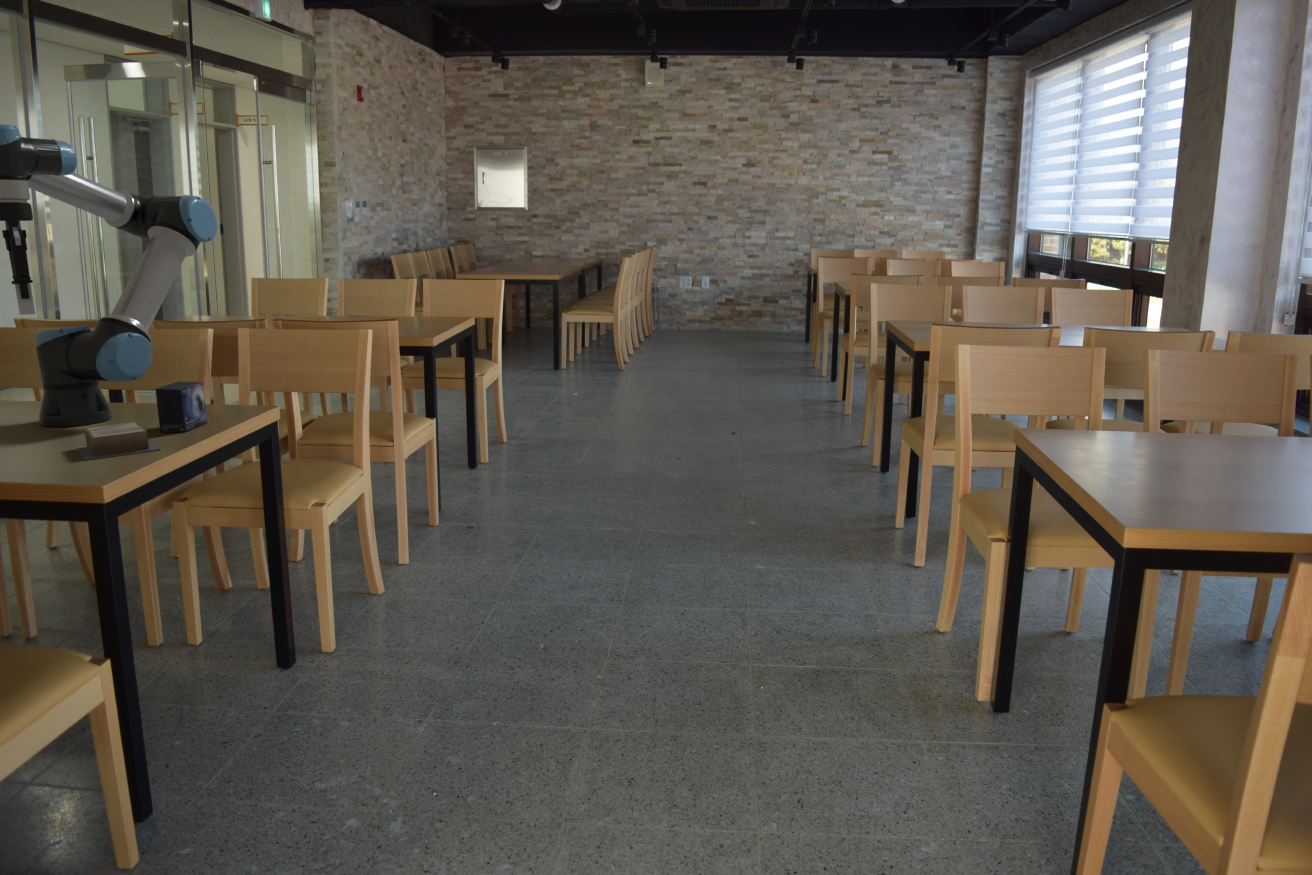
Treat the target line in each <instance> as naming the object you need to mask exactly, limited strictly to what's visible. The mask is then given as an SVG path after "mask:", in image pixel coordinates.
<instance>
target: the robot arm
mask: <svg viewBox="0 0 1312 875" xmlns="http://www.w3.org/2000/svg"><path fill="white" fill-rule="evenodd" d="M77 165H78V156H77V153H76V151H75V149H74V148H73V146H72V145H71V144H69V143H68V142H66V141H62V140H57V139H54V138H53V139H49V138H47V139H46V138H38V137H37V138H35V137H24V136H22V135H21V132H20V129H19V127H17V126H16V125H12V124H5V123H3V124H2V123H0V222H4V223H5V224H4V225H5V229H2V230H1V233H2V238H3V239H4V241H5V248H6V251H7V252H8V256H9V261H10V267H11V272H12V279H13V280H12V281H11V284H12V285H14V288H15V294H16V300H17V307H18V312H19V315H20V316H22V315H26V316H27V315H36V309H35V303H34V298H33V292H32V284H34V281H33V279H32V278H31V276H30V269H29V263H28V262H29V261H28V253H27V251H28V245H27V240H26V239H27V238H28V236H27V231H26V229H22V226H21V222H23V221H24V222H27V221H28V222H30V221H33V220H34V215H33V209H32V204H31V203H29V202H28V201H30V200H31V194H30V190H33V191H36V192H38V193H41V194H42V195H45V196H48V197H51V198H53V199H55V200H57V201H60V202H61V203H65V204H67V205H70V206H72V207H75V208H77V209H80V210H82V211H85V212H87V213H89V214H92V215H94V216H97V217H99V218H101V219H104V222H106V224H108V225H109V226H111V227H114V228H116V229H118V230H121V231H123V232H125V233H128V234H130V235H133V236H135V237H139V238H142V239H145V240H147V241H149V242H148V244H147V246H146V248H145V250H144V252H143V254H142V255H141V258H140V259H139V261H138V263H137V265H136V267H135V268H134V270H133V273H132V274H131V276H130V278H129V280H128V282H127V284H126V286H125V287H124V289H123V291H122V293H121V295H120V296H119V299H118V301H117V302H116V304H115V306H114V308H113V310H112V312H111V313H110V315H105V316H103V317H101V318H99V320H98V322H97V324H96V325H95V328H94V330H92V329H91V326H89V324H85V325H76V326H68V327H61V328H51V329H44V330H40V331H38V332H37V333H36V335H35V350H36V354H37V360H38V367H39V370H40V371H39V372H40V377H41V383H42V389H43V395H42V396H43V397H42V401H41V404H40V409H39V415H38V419H39V424H40V425H41V426H43V427H49V428H50V427H54V428H58V427H59V428H60V427H64V428H65V427H75V426H83V425H85V426H86V425H91V424H96V423H101V422H105V421H108V420H110V419H112V418H113V413H112V408H111V407H110V405H109V403H108V400H107V399H106V397H105V395H104V393H103V391H102V390H101V386H100V381H101V382H111V383H122V382H133V381H136V380H138V379H139V378H141V377H143V376H144V375H145V374H146V373H148V370H149V369H150V367H151V365H152V363H153V357H154V356H153V354H152V352H153V347H152V345H151V340H152V339H151V338H152V337H151V335H150V334H149V329H150V327H151V326H152V324H153V322H154V320H155V318H156V316H157V313H158V312H159V310H160V308H161V306H162V304H163V301H164V300H165V298H166V296H167V294H168V292H169V290H170V289H171V286H172V284H173V283H174V280H175V278H176V277H177V275H178V272H179V270H180V269H181V267H182V264H183V263H184V260H186V258H188V257H192V256H194V255H195V254H196V252H197V249H198V248H199V246H200V244H201V243H208V242H210V241H212V240H213V239H214V238H215V237H216V235H217V231H218V221H217V218H216V214H215V211H214V209H213V207H212V206H211V205H210V203H209V202H208V201H207V200H206V199H204V198H202V197H200V196H197V195H189V194H184V195H181V196H179V195H172V196H171V195H164V196H163V195H161V196H159V195H153V196H152V195H149V196H148V195H138V194H133V193H130V192H128V191H126V190H122V189H121V190H114V189H113V188H109V187H108V186H105V185H102V184H101V183H99V182H96V181H94V180H92V179H89V178H86V177H85V176H82V175H81V174H77V172H75V171H76V169H77V167H78V166H77Z"/></svg>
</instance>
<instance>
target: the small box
mask: <svg viewBox="0 0 1312 875" xmlns="http://www.w3.org/2000/svg"><path fill="white" fill-rule="evenodd" d="M154 390H155V397H156V398H155V399H156V406H157V416H158V424H159V433H186V432H189V431H191V430H194V429H197V428H199V427H202V426H204V425H207V424H208V416H207V407H206V400H205V391H204V390H205V389H204V382H201V381H181V380H179V381H176V382H173V383H169V384H167V385H163V386H159V387H156V388H155V389H154Z"/></svg>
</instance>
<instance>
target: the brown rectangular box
mask: <svg viewBox="0 0 1312 875" xmlns="http://www.w3.org/2000/svg"><path fill="white" fill-rule="evenodd" d="M83 431H84V436H85V441H86V447H88V448H89V449H90V451H91V452H92V453H93V455H94V456H95V457H97V456H104V455H111V454H118V453H126V452H133V451H140V450H147V449H149V444H148V439H149V438H148V431H147V430H146V429H145V428H144V427H143V426H142V425H141V424H139V422H137V421H134V422H133V421H132V422H124V423H117V424H108V425H98V426H91V427H84V430H83Z"/></svg>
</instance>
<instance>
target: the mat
mask: <svg viewBox="0 0 1312 875" xmlns="http://www.w3.org/2000/svg"><path fill="white" fill-rule="evenodd" d="M148 444H149V449H147V450H140V451H133V452H126V453H118V454H111V455H104V456H97V457H95V456H94V455H93V453H92V452H91V451H90V449H89V448H88V447H87V446H85V447H83V446H82V447H78V448H76V451H77V452H78V453H79V455H80V456H81V457H82V459H83V460H84V461H86V462H87V461H93V460H99V459H105V458H113V457H120V456H127V455H135V454H144V453H150V452H157V451H158V452H159V451H161V447H159V446H158V445H157V444H156V443H155V442H154V441H153V440H152V439H150V438H148Z"/></svg>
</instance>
